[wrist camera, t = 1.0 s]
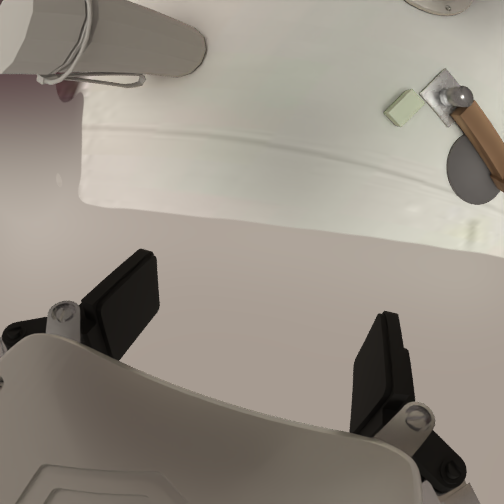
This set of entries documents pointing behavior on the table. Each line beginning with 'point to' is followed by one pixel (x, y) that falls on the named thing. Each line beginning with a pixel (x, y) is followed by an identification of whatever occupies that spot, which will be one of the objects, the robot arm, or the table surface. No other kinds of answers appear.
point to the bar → (483, 139)
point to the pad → (469, 173)
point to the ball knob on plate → (446, 96)
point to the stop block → (404, 107)
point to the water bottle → (94, 41)
